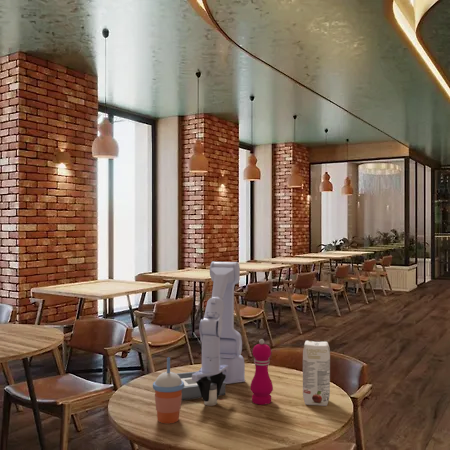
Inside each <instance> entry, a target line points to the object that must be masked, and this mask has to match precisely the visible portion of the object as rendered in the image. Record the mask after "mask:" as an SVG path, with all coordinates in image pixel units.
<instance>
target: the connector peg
mask: <svg viewBox="0 0 450 450" xmlns="http://www.w3.org/2000/svg"><path fill="white" fill-rule="evenodd" d="M217 399H218V398H217V384H216V383H211V385H210V390H209V400H208V401H207V402H206V401H203V404H204V405H205V406H210V407H211V406H212V407H213V406H215V405H217V404H218V403H217V402H218V400H217Z"/></svg>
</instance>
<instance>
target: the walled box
mask: <svg viewBox="0 0 450 450" xmlns="http://www.w3.org/2000/svg"><path fill="white" fill-rule="evenodd" d="M197 371H198V370H195V371H188V372H178V373H176V374H177V375H179V377H180V378H181V379H183V378H191V377H192V374H194V373H196V372H197ZM207 379H208V380H211V379H210V377H207ZM181 393H182V399H181V402H182V401H187V400H188V401H189V400H195V399H202V396H201V392H200V389H199V387H198V385H195V386H186V387H184V388H183V389H182V392H181ZM219 396H220V397H221V396H226V384H225V382H223V384H222V386H221V389H220V393H219Z"/></svg>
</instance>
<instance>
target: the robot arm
mask: <svg viewBox="0 0 450 450" xmlns="http://www.w3.org/2000/svg"><path fill="white" fill-rule="evenodd" d="M240 268H241V267H240V263H239V262H238V261H211V262H210V265H209V276H210V279H211V282H213V284H212V291H211V292H212V293H211V298H209V299H208V300H207V301H206V306H205V312H204V315H203V318H201V319H200V321H199V328H198V329H199V331H198V332H199V339H200V342H201V367H200V368H199V370H196V371H197V372H196V373H194V374H192V380H193V381H196V383H197V385H198V387H199V389H200V392H201V396H202V398H201V400H202V401H203V402H204V401H206V402H207V401H208V400H209V390H210V385H211V383H216V384H217V399H218V398H219V393H220V389H221V386H222V384H223V382H225V385H228V384H236V383H237V384H238V383H245V382H246V380H245V376H246V375H245V373H246V371H245V369H246V368H245V367H246V365H245V359H244V357H243V355H241V354H242V352H243V351H242V350H243V341H242V335H241V333H240V332H239V331H238V330H236V329H235V321H234V320H235V314H234V313H235V285H237V284H239V283H240V279H241V277H240V276H241V275H240V273H241V272H240V271H241V270H240ZM207 377H210V379H211V380H208V379H207Z"/></svg>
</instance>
